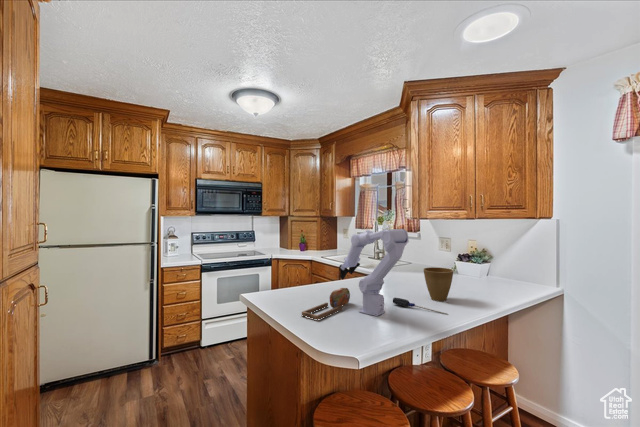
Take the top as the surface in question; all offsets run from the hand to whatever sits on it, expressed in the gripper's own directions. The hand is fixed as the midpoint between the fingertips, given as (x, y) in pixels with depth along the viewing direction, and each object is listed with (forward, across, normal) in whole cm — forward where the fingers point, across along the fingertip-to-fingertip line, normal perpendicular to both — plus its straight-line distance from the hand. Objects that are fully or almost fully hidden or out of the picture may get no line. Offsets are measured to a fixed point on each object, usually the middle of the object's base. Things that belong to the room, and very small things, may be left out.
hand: (346, 275), depth 156 cm
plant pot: (+1, -31, +41) cm, 51 cm away
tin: (+8, +12, +8) cm, 17 cm away
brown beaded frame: (+5, +25, +7) cm, 27 cm away
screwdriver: (-3, -9, +38) cm, 39 cm away
